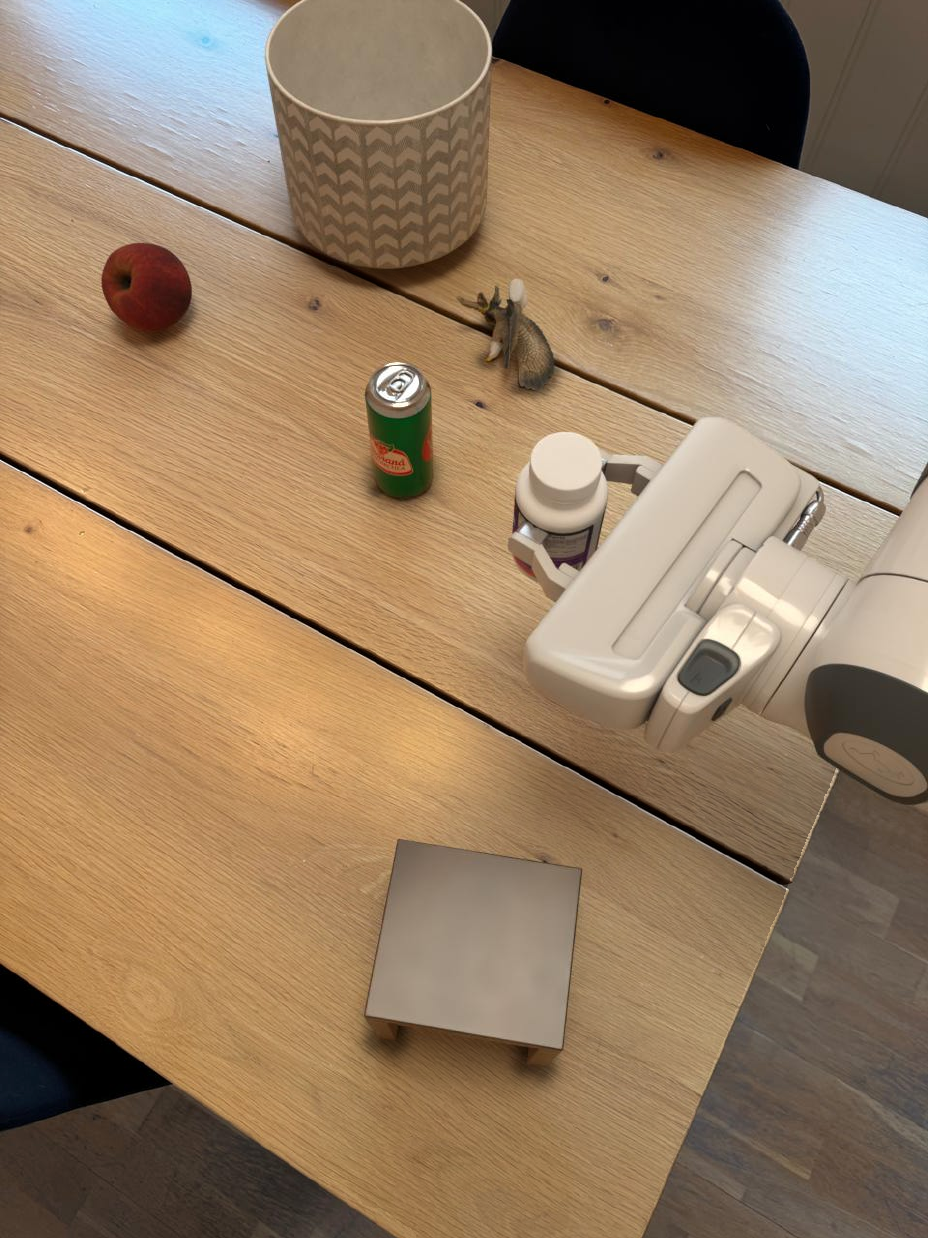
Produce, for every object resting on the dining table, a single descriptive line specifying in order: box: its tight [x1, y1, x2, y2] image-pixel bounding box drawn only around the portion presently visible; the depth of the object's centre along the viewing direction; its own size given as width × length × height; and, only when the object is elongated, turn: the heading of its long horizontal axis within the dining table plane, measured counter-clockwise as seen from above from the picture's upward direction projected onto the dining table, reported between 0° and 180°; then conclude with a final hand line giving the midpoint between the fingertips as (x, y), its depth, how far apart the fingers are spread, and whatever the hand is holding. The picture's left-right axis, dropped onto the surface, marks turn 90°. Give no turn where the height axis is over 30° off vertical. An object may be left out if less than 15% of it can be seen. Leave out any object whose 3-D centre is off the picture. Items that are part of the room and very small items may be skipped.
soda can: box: [364, 361, 435, 499], centre depth 82 cm, size 5×5×12 cm
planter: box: [264, 0, 493, 270], centre depth 93 cm, size 19×19×18 cm
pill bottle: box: [511, 431, 609, 584], centre depth 60 cm, size 5×5×10 cm
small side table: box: [363, 838, 583, 1067], centre depth 63 cm, size 11×10×12 cm
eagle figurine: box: [456, 278, 555, 391], centre depth 91 cm, size 8×7×9 cm
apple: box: [101, 242, 193, 333], centre depth 91 cm, size 7×8×8 cm
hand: (547, 496), depth 60 cm, fingers closed on pill bottle, 5 cm apart
